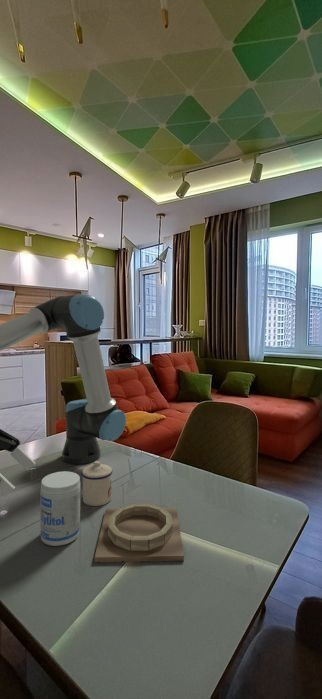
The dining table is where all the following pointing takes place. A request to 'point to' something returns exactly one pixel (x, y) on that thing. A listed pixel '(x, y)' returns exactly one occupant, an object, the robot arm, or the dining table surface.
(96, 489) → the teacup with lid
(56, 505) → the supplement tub
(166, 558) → the ring holder
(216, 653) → the dining table surface
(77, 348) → the robot arm
